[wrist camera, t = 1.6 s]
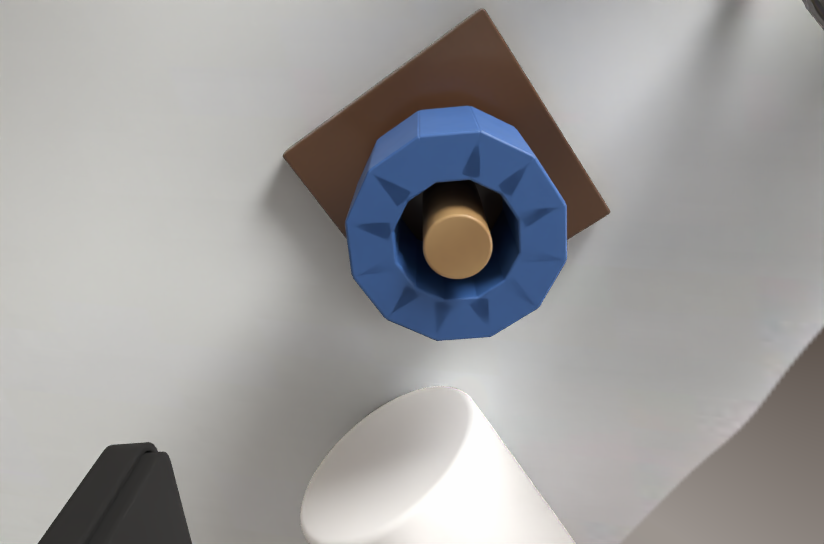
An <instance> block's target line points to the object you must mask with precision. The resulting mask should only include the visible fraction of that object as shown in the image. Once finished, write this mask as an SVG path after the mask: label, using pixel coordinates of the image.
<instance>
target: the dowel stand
mask: <svg viewBox="0 0 824 544" xmlns="http://www.w3.org/2000/svg"><path fill="white" fill-rule="evenodd" d="M459 106H472V107H474V108H476V109H478V110H481V111H483V112H485V113H487V114H489V115H491V116H493V117H495V118H497V119H499V120H501V121H503V122H506V123H508V124H510V125H512V126H514V127H515V128H516V129H517V130H518V132H519V133H520V134H521V136H522V137H523V139H524V140H525V142H526V143H527V144H528V146H529V147H530V149H531V150H532V152H533V153H534V154H535V156H536V157H537V159H538V160H539V162H540V164H541V165H542V167H543V168H544V170H545V171H546V173H547V174H548V176H549V177H550V179H551V181H552V182H553V184H554V185H555V187H556V188H557V190H558V191H559V193H560V195H561V196H562V198H563V199H564V201H565V203H566V205H567V240H568V239H569V238H571V237H573V236H574V235H576V234H578V233H579V232H581V231H582V230H584V229H586V228H587V227H589V226H590V225H592V224H594V223H595V222H597V221H598V220H600V219H602V218H603V217H605V216H606V215H608V214H609V213H610V210H609V208H608V206H607V205H606V203H605V201H604V200H603V198H602V197H601V195H600V193H599V192H598V190H597V189H596V187H595V185H594V184H593V182H592V181H591V179H590V177H589V176H588V174H587V173H586V171H585V169H584V168H583V166H582V165H581V163H580V161H579V160H578V158H577V156H576V155H575V153H574V152H573V150H572V148H571V147H570V145H569V144H568V142H567V140H566V139H565V137H564V136H563V134H562V132H561V131H560V129H559V128H558V126H557V124H556V123H555V121H554V120H553V118H552V116H551V115H550V113H549V112H548V110H547V108H546V107H545V105H544V103H543V102H542V100H541V99H540V97H539V95H538V94H537V92H536V91H535V89H534V87H533V86H532V84H531V83H530V81H529V79H528V78H527V76H526V75H525V73H524V71H523V70H522V68H521V67H520V65H519V63H518V62H517V60H516V58H515V57H514V55H513V54H512V52H511V50H510V49H509V47H508V46H507V44H506V42H505V41H504V39H503V38H502V36H501V34H500V33H499V31H498V30H497V28H496V26H495V25H494V23H493V22H492V20H491V18H490V17H489V15H488V13H487V12H486V10H485V9H482V8H481V9H479V10H477V11H476V12H474V13H473V14H472V15H470V16H469V17H468V18H466V19H465V20H464V21H462V22H461V23H459V24H458V25H457V26H455V27H454V28H453V29H451V30H450V31H449V32H447V33H446V34H444V35H443V36H442V37H440V38H439V39H438V40H436V41H435V42H433V43H432V44H431V45H429V46H428V47H427V48H425V49H424V50H423V51H421V52H420V53H418V54H417V55H416V56H414V57H413V58H412V59H410V60H409V61H408V62H406V63H405V64H403V65H402V66H401V67H399V68H398V69H397V70H395V71H394V72H393V73H391V74H390V75H388V76H387V77H386V78H384V79H383V80H382V81H380V82H379V83H377V84H376V85H375V86H373V87H372V88H371V89H369V90H368V91H367V92H365V93H364V94H362V95H361V96H360V97H358V98H357V99H356V100H354V101H353V102H352V103H350V104H349V105H347V106H346V107H345V108H343V109H342V110H341V111H339V112H338V113H337V114H335V115H334V116H332V117H331V118H330V119H328V120H327V121H326V122H324V123H323V124H321V125H320V126H319V127H317V128H316V129H315V130H313V131H312V132H311V133H309V134H308V135H306V136H305V137H304V138H302V139H301V140H300V141H298V142H297V143H296V144H294V145H293V146H291V147H290V148H289V149H287V151H286V152H285V153H284V154H283V158H284V159H285V160H286V161H287V163H288V164H289V165H290V167H291V168H292V169H293V170H294V172H295V173H296V174H297V176H298V177H299V178H300V179H301V181H302V182H303V183H304V185H305V186H306V187H307V188H308V190H309V191H310V192H311V194H312V195H313V196H314V197H315V199H316V200H317V201H318V203H319V204H320V205H321V206H322V208H323V209H324V210H325V212H326V213H327V214H328V215H329V217H330V218H331V219H332V221H333V222H334V223H335V224H336V226H337V227H338V228H339V230H340V231H341V232H342V233H343V235H344V236H345V237H346V239H347V236H346V228H345V220H346V217H347V214H348V211H349V208H350V205H351V202H352V199H353V196H354V193H355V190H356V187H357V184H358V181H359V179H360V177H361V175H362V173H363V170H364V168H365V166H366V164H367V161H368V159H369V157H370V155H371V152H372V150H373V148H374V146H375V143H376V141H377V140H378V139H379V138H380V137H381V136H383V135H384V134H386V133H387V132H388V131H390V130H391V129H393V128H394V127H395V126H397V125H398V124H400V123H401V122H403V121H404V120H405V119H407V118H408V117H410V116H411V115H412V114H414V113H415V112H417V111H420V110H425V109H437V108H448V107H459ZM502 210H503V200H502V196H501V195H500V194H499V193H497V192H495V191H493V190H490V189H488V188H486V187H484V186H482V185H480V184H477V183H475V182H473V181H471V180H462V181H450V182H438V183H435V184H433V185H432V186H430V187H429V188H427V189H426V190H424V191H423V192H421V193H420V194H418V195H417V196H415V197H414V198H413V199H411V200H410V201H408V203H407V205H406V207H405V209H404V211H403V213H402V215H401V218H402V220H403V221H404V222H405V224H406V225H407V226H408V228H409V229H410V230H411V232H412V233H413V234H414V236H415V237H416V239H418V240H421V241H423V254H424V257H425V260H426V262H427V263H428V265H429V266H430V267H431V269H432V270H434V271H435V272H436V273H437V274H439V275H441V276H443V277H446V278H450V279H464V278H468V277H471V276H473V275H475V274H477V273H478V272H480V271H481V270H482V269H483V268H484V267H485V266H486V264H487V263H488V261H489V259H490V257H491V254H492V249H493V243H492V238H491V234H490V232H491V231H492V229H493V227H494V225H495V223H496V221H497V219H498V217H499V216H500V214H501V212H502Z"/></svg>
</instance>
